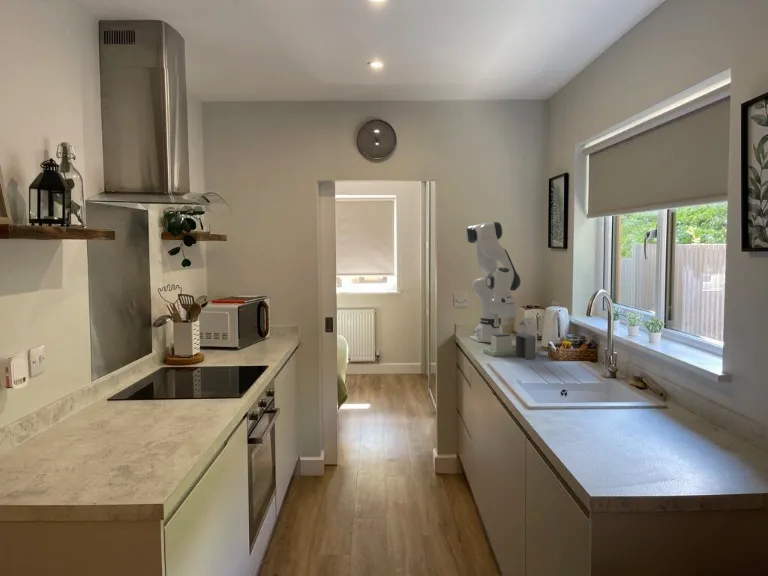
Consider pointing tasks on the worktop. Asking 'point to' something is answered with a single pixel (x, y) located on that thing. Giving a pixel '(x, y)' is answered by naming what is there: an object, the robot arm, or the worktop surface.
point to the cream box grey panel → (501, 342)
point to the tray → (499, 352)
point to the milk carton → (529, 328)
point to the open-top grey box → (525, 345)
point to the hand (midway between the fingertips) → (501, 323)
